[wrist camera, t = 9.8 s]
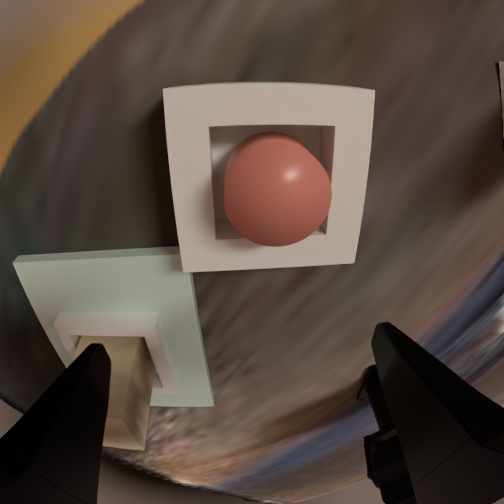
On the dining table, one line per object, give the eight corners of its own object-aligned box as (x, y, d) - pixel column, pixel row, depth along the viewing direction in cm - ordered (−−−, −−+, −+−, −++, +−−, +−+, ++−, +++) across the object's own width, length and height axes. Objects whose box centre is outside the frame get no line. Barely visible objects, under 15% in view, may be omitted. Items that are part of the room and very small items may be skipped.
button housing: (339, 238, 21) (354, 263, 18) (188, 245, 20) (183, 272, 18) (352, 86, 16) (374, 90, 13) (173, 86, 15) (162, 89, 13)
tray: (214, 398, 30) (214, 418, 28) (90, 393, 29) (85, 411, 27) (188, 245, 20) (184, 267, 18) (18, 255, 20) (3, 274, 17)
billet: (155, 368, 25) (144, 450, 19) (103, 366, 25) (84, 442, 18) (141, 328, 23) (121, 419, 16) (84, 327, 22) (54, 410, 16)
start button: (310, 214, 18) (326, 244, 15) (226, 217, 18) (226, 249, 15) (315, 132, 16) (336, 146, 13) (222, 133, 15) (221, 147, 12)
